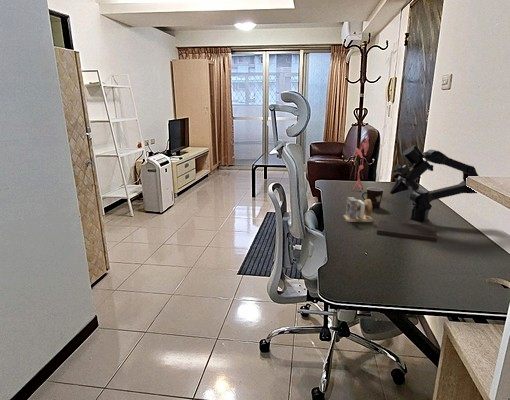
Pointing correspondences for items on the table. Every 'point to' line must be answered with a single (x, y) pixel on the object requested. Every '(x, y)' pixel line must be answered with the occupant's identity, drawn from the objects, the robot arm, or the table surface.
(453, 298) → the table surface
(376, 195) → the coffee mug
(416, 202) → the robot arm
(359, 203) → the spacer
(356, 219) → the base
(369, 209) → the tan egg-shaped dome
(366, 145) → the figurine
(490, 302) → the table surface
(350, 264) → the table surface
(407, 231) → the hardcover book
